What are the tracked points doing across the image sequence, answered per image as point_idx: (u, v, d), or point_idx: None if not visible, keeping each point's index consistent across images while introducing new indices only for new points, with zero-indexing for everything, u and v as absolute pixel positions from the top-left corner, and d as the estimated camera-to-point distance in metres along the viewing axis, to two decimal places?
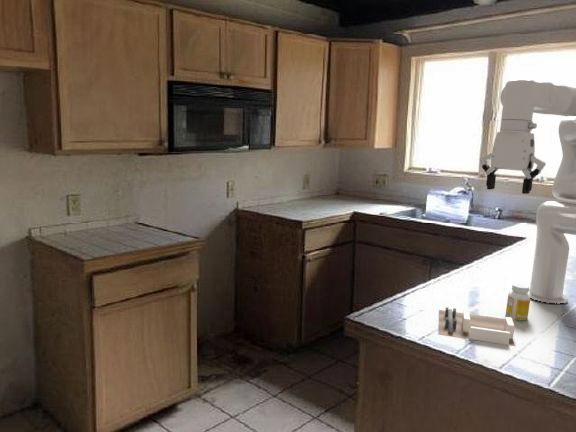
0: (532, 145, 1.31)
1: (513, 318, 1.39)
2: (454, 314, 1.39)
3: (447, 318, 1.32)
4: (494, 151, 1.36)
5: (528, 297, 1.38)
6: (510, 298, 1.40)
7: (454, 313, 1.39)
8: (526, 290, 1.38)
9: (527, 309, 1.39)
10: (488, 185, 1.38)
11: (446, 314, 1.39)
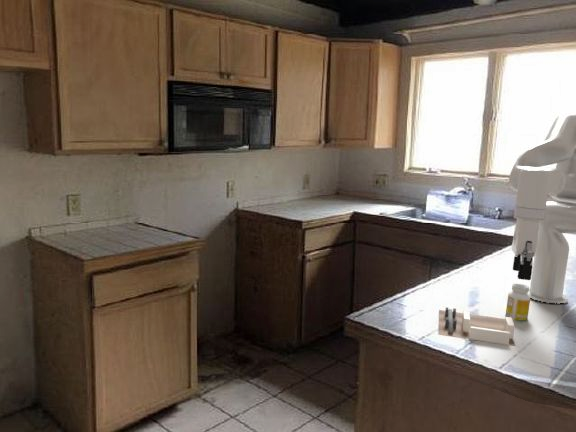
0: None
1: (513, 318, 1.39)
2: (454, 314, 1.39)
3: (447, 318, 1.32)
4: (537, 241, 1.33)
5: (528, 297, 1.38)
6: (510, 298, 1.40)
7: (454, 313, 1.39)
8: (526, 290, 1.38)
9: (527, 309, 1.39)
10: None
11: (446, 314, 1.39)
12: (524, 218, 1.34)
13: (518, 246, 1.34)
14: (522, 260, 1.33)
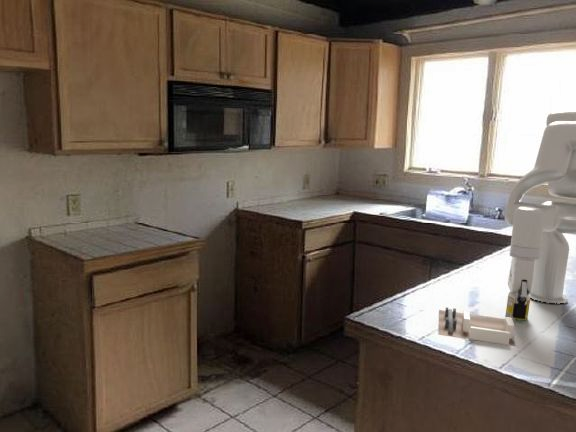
0: None
1: (513, 318, 1.39)
2: (454, 314, 1.39)
3: (447, 318, 1.32)
4: (532, 279, 1.35)
5: (528, 297, 1.38)
6: (510, 298, 1.40)
7: (454, 313, 1.39)
8: None
9: (527, 309, 1.39)
10: None
11: (446, 314, 1.39)
12: (519, 257, 1.36)
13: (514, 284, 1.36)
14: (516, 300, 1.37)
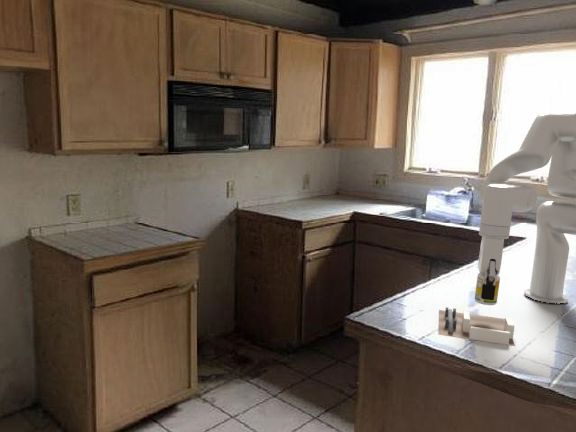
0: None
1: (482, 299, 1.35)
2: (454, 314, 1.39)
3: (447, 318, 1.32)
4: (501, 259, 1.31)
5: (497, 278, 1.34)
6: (479, 278, 1.35)
7: (454, 313, 1.39)
8: None
9: (496, 290, 1.34)
10: None
11: (446, 314, 1.39)
12: (488, 235, 1.31)
13: (482, 264, 1.32)
14: (485, 281, 1.32)
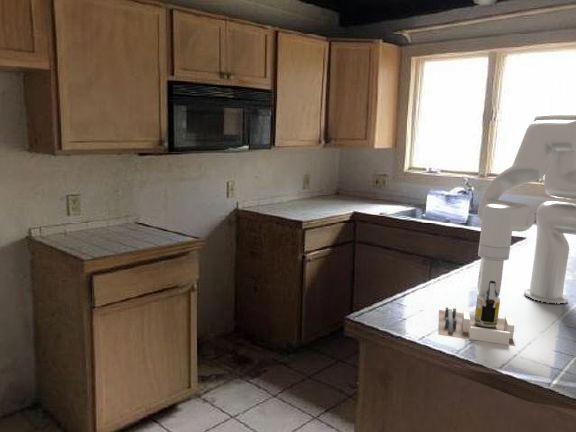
0: None
1: (482, 321, 1.32)
2: (454, 314, 1.39)
3: (447, 318, 1.32)
4: None
5: (497, 299, 1.31)
6: (479, 300, 1.33)
7: (454, 313, 1.39)
8: None
9: (496, 312, 1.32)
10: None
11: (446, 314, 1.39)
12: (487, 257, 1.29)
13: (481, 286, 1.29)
14: (485, 303, 1.30)
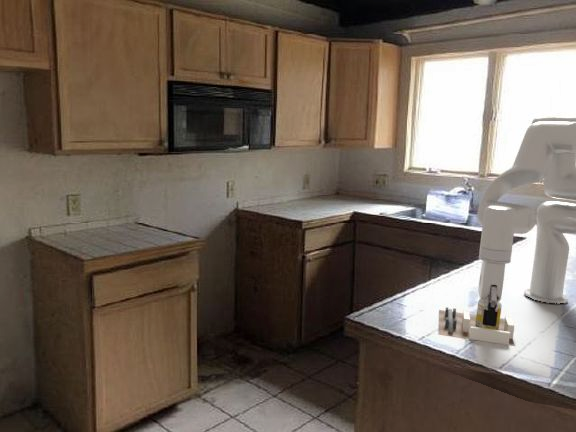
0: None
1: None
2: (454, 314, 1.39)
3: (447, 318, 1.32)
4: None
5: (499, 305, 1.28)
6: (480, 306, 1.29)
7: (454, 313, 1.39)
8: None
9: (498, 318, 1.29)
10: None
11: (446, 314, 1.39)
12: (489, 260, 1.25)
13: (482, 290, 1.25)
14: (486, 306, 1.25)
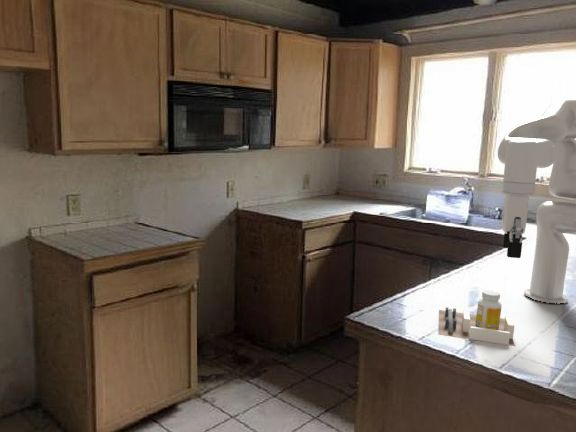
0: None
1: None
2: (454, 314, 1.39)
3: (447, 318, 1.32)
4: (526, 217, 1.26)
5: (499, 305, 1.28)
6: (480, 306, 1.29)
7: (454, 313, 1.39)
8: (497, 297, 1.28)
9: (498, 318, 1.29)
10: None
11: (446, 314, 1.39)
12: (512, 193, 1.27)
13: (506, 223, 1.27)
14: (511, 237, 1.27)
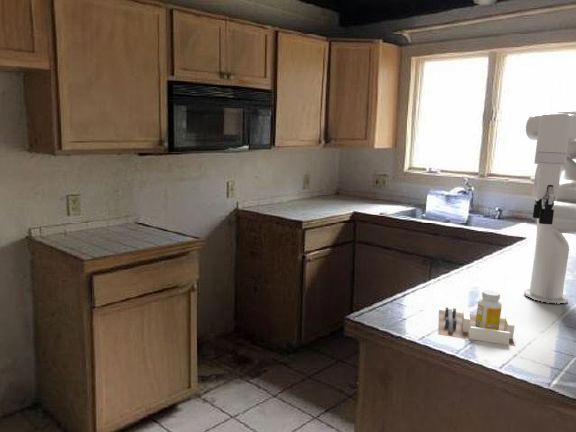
0: None
1: None
2: (454, 314, 1.39)
3: (447, 318, 1.32)
4: (558, 185, 1.33)
5: (499, 305, 1.28)
6: (480, 306, 1.29)
7: (454, 313, 1.39)
8: (497, 297, 1.28)
9: (498, 318, 1.29)
10: None
11: (446, 314, 1.39)
12: (545, 163, 1.34)
13: (539, 191, 1.34)
14: (543, 204, 1.33)
